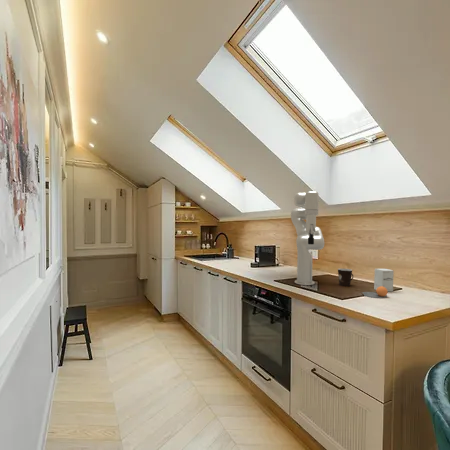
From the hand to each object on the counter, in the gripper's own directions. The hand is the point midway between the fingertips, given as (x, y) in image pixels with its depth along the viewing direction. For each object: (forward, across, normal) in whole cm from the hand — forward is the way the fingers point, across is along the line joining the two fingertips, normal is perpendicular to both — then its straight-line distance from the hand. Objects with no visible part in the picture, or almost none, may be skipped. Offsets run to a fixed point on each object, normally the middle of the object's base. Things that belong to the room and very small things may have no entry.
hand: (310, 244), depth 171 cm
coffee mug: (+27, -20, +23) cm, 41 cm away
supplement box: (+27, -12, +43) cm, 52 cm away
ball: (+24, +4, +37) cm, 45 cm away
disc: (+27, +2, +34) cm, 44 cm away
